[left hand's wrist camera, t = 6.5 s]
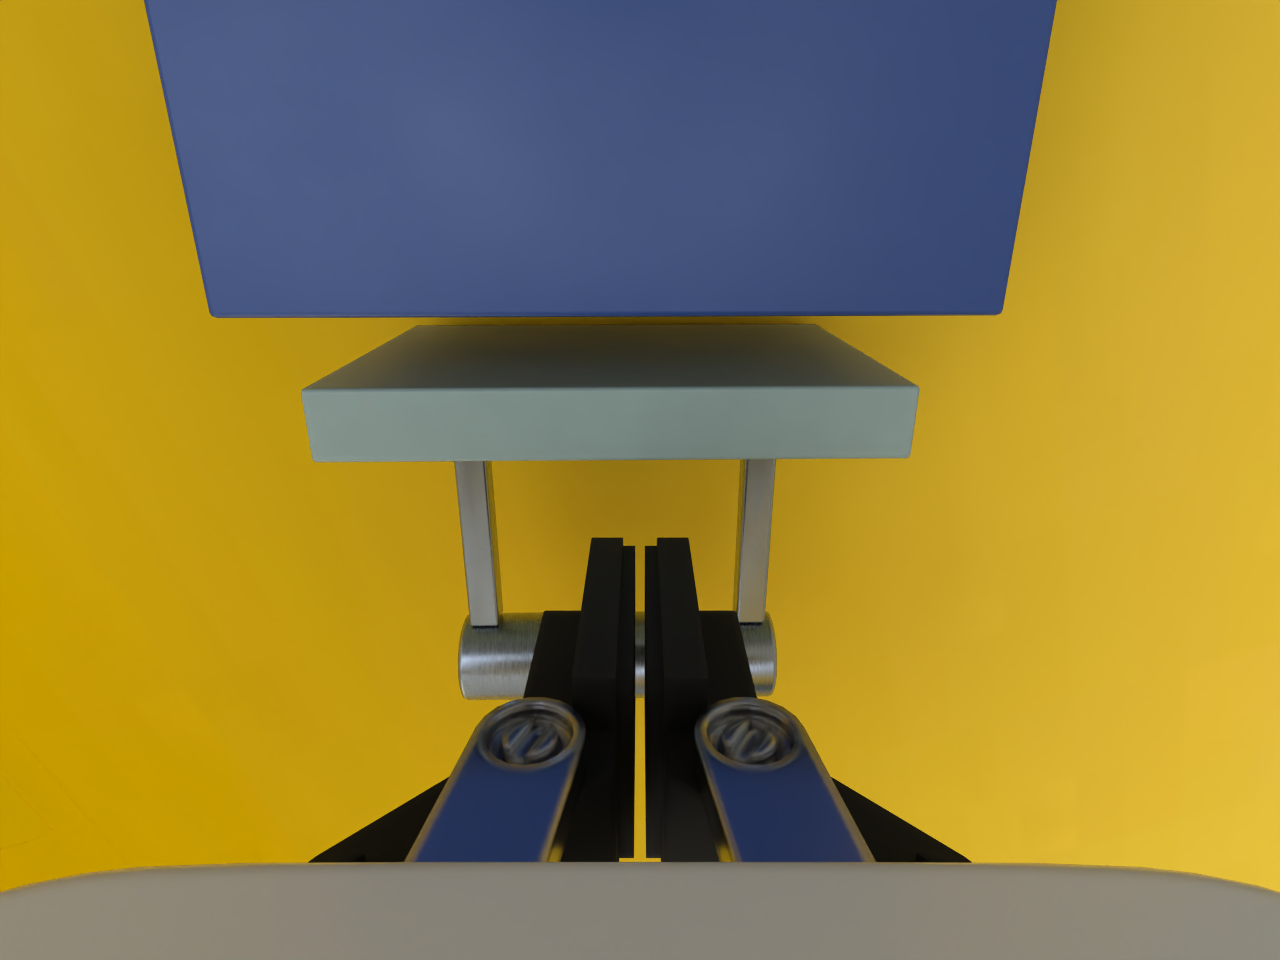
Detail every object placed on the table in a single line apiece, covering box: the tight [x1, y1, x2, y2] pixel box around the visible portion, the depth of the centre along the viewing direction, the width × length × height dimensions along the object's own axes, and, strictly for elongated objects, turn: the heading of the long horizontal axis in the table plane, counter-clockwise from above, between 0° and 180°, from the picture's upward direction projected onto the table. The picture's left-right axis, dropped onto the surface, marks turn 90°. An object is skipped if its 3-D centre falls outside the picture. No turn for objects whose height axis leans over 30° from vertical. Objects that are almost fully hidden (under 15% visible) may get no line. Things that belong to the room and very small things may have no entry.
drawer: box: [301, 324, 919, 700], centre depth 13 cm, size 19×10×6 cm, turn 0°
